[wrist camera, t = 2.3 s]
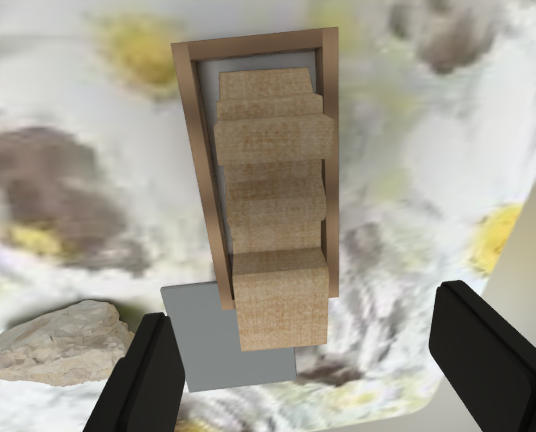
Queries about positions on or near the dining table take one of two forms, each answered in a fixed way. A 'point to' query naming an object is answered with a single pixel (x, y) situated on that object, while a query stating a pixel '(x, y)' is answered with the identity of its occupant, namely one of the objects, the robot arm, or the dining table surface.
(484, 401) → the robot arm
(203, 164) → the pocket frame
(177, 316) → the slate mat
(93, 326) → the stone
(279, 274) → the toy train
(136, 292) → the dining table surface
